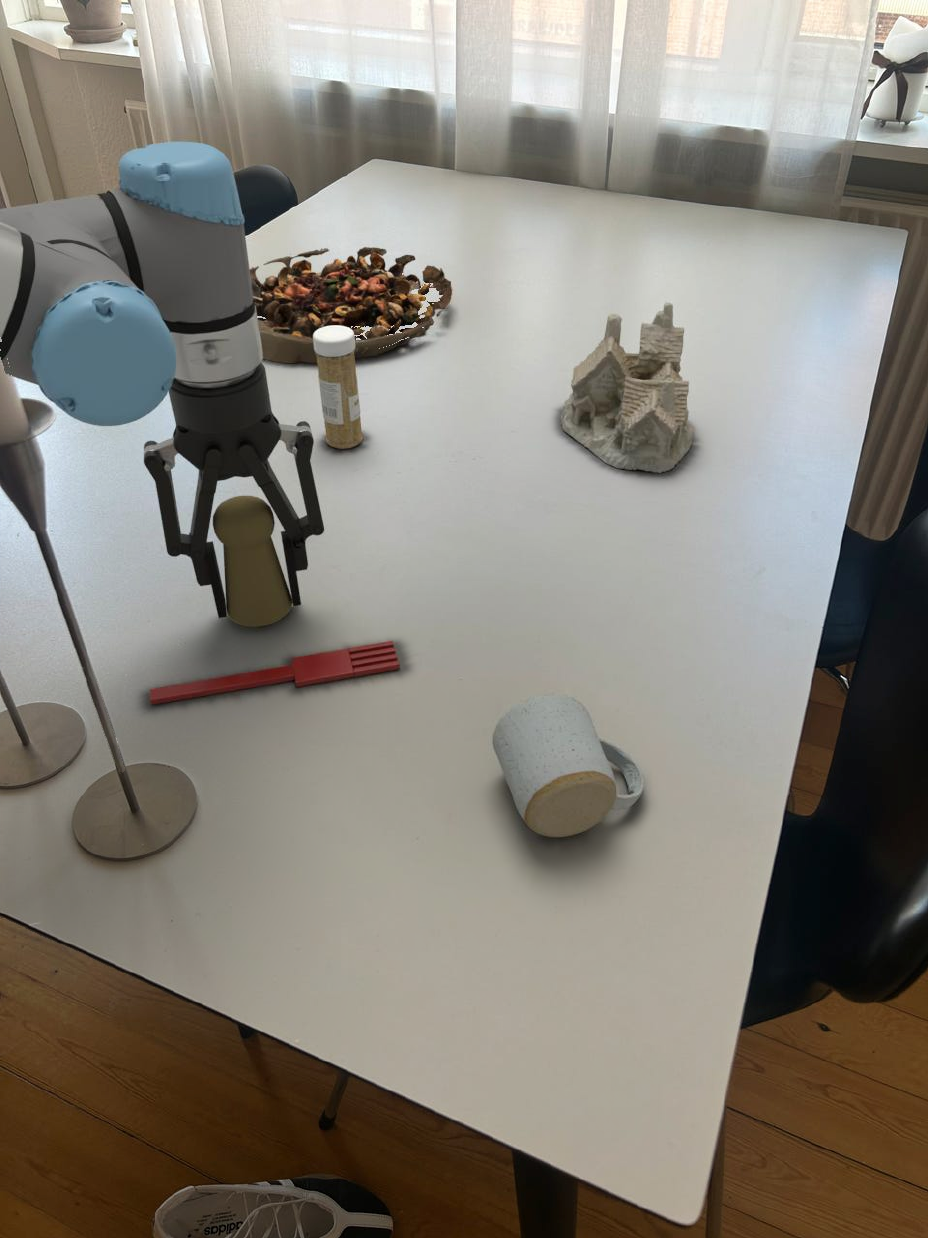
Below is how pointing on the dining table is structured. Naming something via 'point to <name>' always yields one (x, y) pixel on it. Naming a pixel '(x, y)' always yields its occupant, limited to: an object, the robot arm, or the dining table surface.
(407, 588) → the dining table surface
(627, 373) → the ceramic cottage
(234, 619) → the tan peg doll
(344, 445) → the sprinkles bottle
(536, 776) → the ceramic mug
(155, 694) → the fork
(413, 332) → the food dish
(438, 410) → the dining table surface
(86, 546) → the dining table surface
